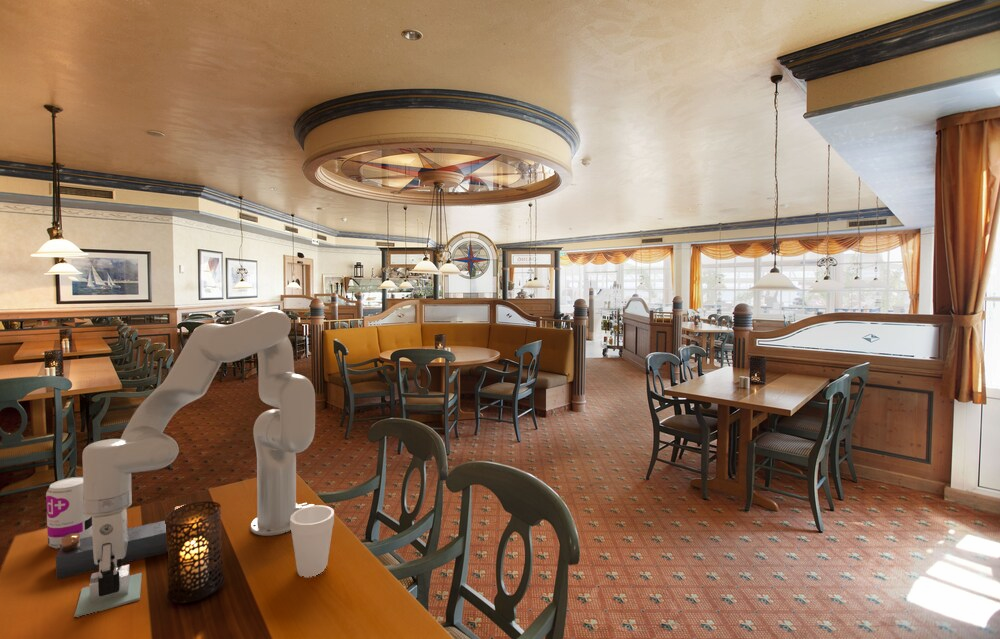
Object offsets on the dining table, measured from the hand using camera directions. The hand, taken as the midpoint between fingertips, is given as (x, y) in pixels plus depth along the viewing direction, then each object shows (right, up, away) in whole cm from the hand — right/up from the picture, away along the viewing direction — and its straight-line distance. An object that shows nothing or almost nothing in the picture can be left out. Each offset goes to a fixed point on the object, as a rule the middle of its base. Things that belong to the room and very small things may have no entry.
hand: (110, 584), depth 97 cm
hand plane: (-8, -1, +14) cm, 16 cm away
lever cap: (0, -2, 0) cm, 2 cm away
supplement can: (-26, 0, +19) cm, 33 cm away
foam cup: (+38, -3, +11) cm, 39 cm away
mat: (0, -2, 0) cm, 2 cm away
